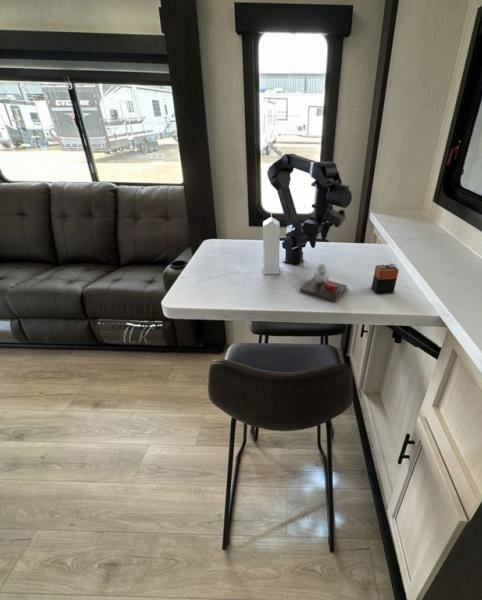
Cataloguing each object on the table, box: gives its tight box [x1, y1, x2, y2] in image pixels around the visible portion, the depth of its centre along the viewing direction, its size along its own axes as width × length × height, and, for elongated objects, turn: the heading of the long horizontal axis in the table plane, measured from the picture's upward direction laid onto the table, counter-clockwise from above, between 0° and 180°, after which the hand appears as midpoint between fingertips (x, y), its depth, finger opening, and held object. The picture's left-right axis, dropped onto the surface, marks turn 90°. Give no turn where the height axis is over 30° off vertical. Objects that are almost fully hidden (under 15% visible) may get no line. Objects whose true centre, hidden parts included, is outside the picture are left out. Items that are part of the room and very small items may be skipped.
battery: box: [371, 263, 399, 295], centre depth 106 cm, size 4×7×10 cm, turn 99°
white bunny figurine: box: [312, 262, 330, 284], centre depth 107 cm, size 5×7×8 cm
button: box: [325, 281, 337, 290], centre depth 102 cm, size 4×4×2 cm
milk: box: [262, 214, 281, 275], centre depth 114 cm, size 6×6×22 cm
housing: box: [299, 277, 348, 303], centre depth 106 cm, size 13×12×4 cm
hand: (318, 244), depth 114 cm, fingers open, 9 cm apart
